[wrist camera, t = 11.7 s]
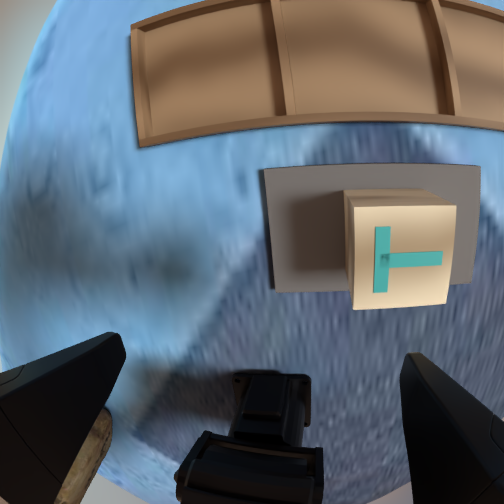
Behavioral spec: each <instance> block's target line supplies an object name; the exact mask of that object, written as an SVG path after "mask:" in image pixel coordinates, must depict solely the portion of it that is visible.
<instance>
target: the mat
mask: <svg viewBox="0 0 504 504" xmlns="http://www.w3.org/2000/svg"><path fill="white" fill-rule="evenodd" d="M264 177H265V186H266V196H267V206H268V216H269V226H270V236H271V246H272V257H273V268H274V279H275V290H276V293H284V292H324V291H350V290H349V285H348V280H347V275H346V270H345V213H344V191H343V190H360V189H424V190H426V191H428V192H431V193H433V194H435V195H437V196H439V197H441V198H443V199H445V200H447V201H449V202H451V203H453V204H455V205H456V225H455V238H454V249H453V258H452V266H451V274H450V280H449V285H453V284H465V283H471V280H472V274H473V267H474V261H475V253H476V245H477V236H478V225H479V210H480V182H481V167H480V166H476V165H458V164H433V163H356V164H328V165H309V166H293V167H280V168H267V169H264Z"/></svg>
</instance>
